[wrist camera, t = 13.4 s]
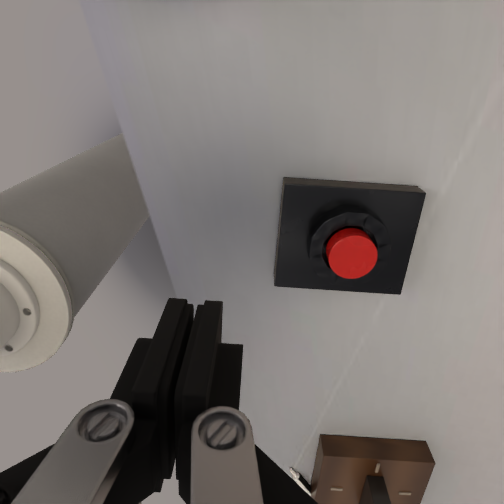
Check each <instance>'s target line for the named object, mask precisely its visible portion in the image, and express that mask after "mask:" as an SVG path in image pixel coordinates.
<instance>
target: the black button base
mask: <svg viewBox="0 0 504 504" xmlns="http://www.w3.org/2000/svg"><path fill="white" fill-rule="evenodd" d="M425 195H426V193H425V192H424V191H423V190H421V189H420V188H419V187H418V186H408V185H393V184H378V183H363V182H348V181H333V180H318V179H303V178H288V177H284V178H283V186H282V196H281V207H280V217H279V227H278V238H277V248H276V258H275V269H274V286H278V287H293V288H308V289H323V290H338V291H353V292H369V293H384V294H399V295H400V294H401V290H402V286H403V282H404V278H405V274H406V271H407V267H408V263H409V259H410V255H411V251H412V247H413V243H414V239H415V235H416V231H417V227H418V223H419V219H420V215H421V211H422V207H423V203H424V199H425ZM346 228H357V229H360V230H362V231H364V232H366V233H367V234H368V235H369V237H370V238H371V240H372V241H373V243H374V245H375V246H376V249H377V253H378V256H377V261H376V264H375V266H374V267H373V269H372V270H371V271H370V272H369V273H367V274H366V275H364V276H362V277H359V278H355V279H347V278H343V277H340V276H338V275H337V274H336V273H334V272H333V270H332V269H331V267H330V265H329V262H328V259H327V255H326V246H327V243H328V241H329V240H330V238H331V237H332V236H333V235H334V234H335V233H337V232H338V231H340V230H343V229H346Z"/></svg>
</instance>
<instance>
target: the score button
mask: <svg viewBox="0 0 504 504" xmlns="http://www.w3.org/2000/svg"><path fill="white" fill-rule="evenodd" d="M326 255H327V259H328V262H329V265H330V267H331V269H332V270H333V272H334V273H336V274H337V275H338V276H340V277H343V278H347V279H355V278H359V277H362V276H364V275H366V274H367V273H369V272H370V271H371V270H372V269H373V267H374V266H375V264H376V261H377V256H378V253H377V249H376V246H375V245H374V243H373V241H372V240H371V238H370V237H369V235H368V234H367V233H366V232H364V231H362V230H360V229H357V228H346V229H343V230H340V231H338V232H337V233H335V234H334V235H333V236H332V237H331V238H330V240H329V241H328V243H327V246H326Z"/></svg>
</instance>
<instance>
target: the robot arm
mask: <svg viewBox="0 0 504 504" xmlns="http://www.w3.org/2000/svg"><path fill="white" fill-rule="evenodd" d="M222 310H223V302H222V301H207V300H205V303H204V305H198V306H197V310H196V314H195V317H194V308H193V304H188V303H187V299H177V298H169V299H168V301H167V304H166V306H165V309H164V311H163V314H162V316H161V319H160V321H159V324H158V326H157V329H156V331H155V334H154V336H153V339H149V338H139V339H137V341H136V343H135V345H134V347H133V349H132V352H131V354H130V356H129V358H128V360H127V363H126V365H125V367H124V369H123V371H122V373H121V376H120V378H119V380H118V382H117V384H116V387H115V389H114V391H113V393H112V395H111V398H110V399H105V400H100V401H97V402H94V403H92V404H89V405H88V406H86V407H85V408H83V409H82V410H81V411H80V412H79V413H78V414H77V415H76V416H75V417H74V419H73V420H72V421H71V423H70V424H69V425H68V427H67V428H66V429H65V431H64V432H63V433H62V435H61V436H60V438H59V439H58V440H57V442H56V443H55V444H53V445H51V446H49V447H48V448H46V449H44V450H42V451H40V452H38V453H36V454H35V455H33V456H31V457H29V458H27V459H25V460H23V461H22V462H20V463H18V464H16V465H14V466H12V467H10V468H9V469H7V470H5V471H3V472H1V473H0V504H141V501H143V500H144V499H145V498H147V497H148V496H149V495H151V494H152V493H154V492H161V488H162V483H163V479H170V478H171V476H172V471H173V467H174V463H175V458H176V479H177V480H179V495H180V496H181V498H182V499H183V500H184V501H185V503H186V504H318V503H317V502H316V501H315V500H314V499H313V498H312V497H311V496H310V495H309V494H308V493H306V492H305V491H304V490H303V489H302V488H301V487H300V486H299V485H298V484H297V483H296V482H295V481H294V480H293V479H292V478H290V477H289V476H288V475H287V474H286V473H285V472H284V471H283V470H282V469H281V468H280V467H279V466H278V465H277V464H276V463H274V462H273V461H272V460H271V459H270V458H269V457H268V456H267V455H266V454H265V453H264V452H263V451H262V450H261V449H260V448H258V447H257V446H256V445H255V444H254V438H253V432H252V427H251V424H250V421H249V419H248V418H247V417H246V416H245V414H243V413H242V412H240V411H239V400H240V385H241V370H242V355H243V345H241V344H226V343H221V337H222ZM39 321H40V310H39V304H38V301H37V299H36V296H35V294H34V292H33V290H32V289H31V287H30V285H29V284H28V283H27V281H26V280H25V279H24V278H23V277H22V275H21V274H19V273H18V272H17V271H16V270H15V269H14V268H13V267H12V266H10V265H9V264H7V263H6V262H4V261H3V260H1V259H0V357H1V356H7V355H10V354H12V353H15V352H17V351H19V350H20V349H22V348H23V347H24V346H25V345H26V344H27V343H28V342H29V341H30V340H31V339H32V337H33V336H34V334H35V333H36V331H37V328H38V326H39Z"/></svg>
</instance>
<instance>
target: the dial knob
mask: <svg viewBox="0 0 504 504" xmlns="http://www.w3.org/2000/svg"><path fill="white" fill-rule="evenodd" d="M359 504H391V501H390V498H389V494H388V491H387V487H386V484H385V480H384V477H381V476H367V477H366V481H365V484H364V488H363V492H362V495H361V499H360V503H359Z"/></svg>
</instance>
